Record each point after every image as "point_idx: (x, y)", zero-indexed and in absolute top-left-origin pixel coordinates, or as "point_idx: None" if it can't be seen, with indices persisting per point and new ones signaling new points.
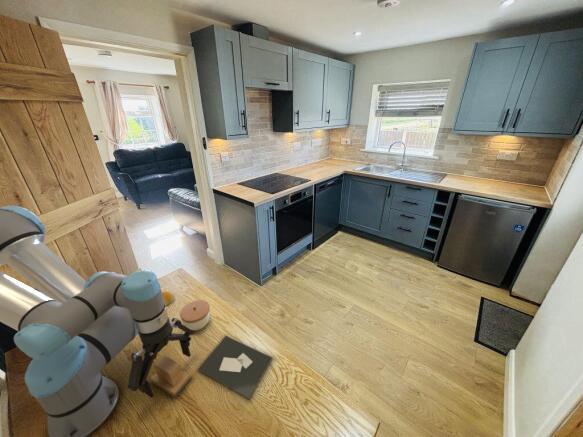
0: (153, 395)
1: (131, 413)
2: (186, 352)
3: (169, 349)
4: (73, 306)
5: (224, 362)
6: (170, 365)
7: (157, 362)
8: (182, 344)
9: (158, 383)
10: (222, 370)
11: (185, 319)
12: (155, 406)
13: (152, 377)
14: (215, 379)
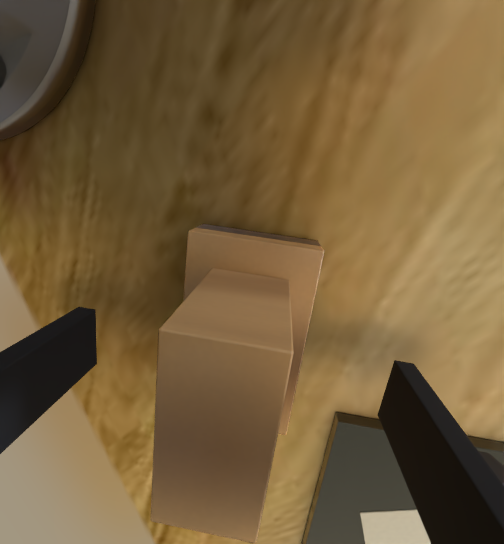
0: (89, 367)
1: (58, 237)
2: (398, 441)
3: (435, 145)
4: None
5: (405, 521)
6: (212, 488)
7: (189, 358)
8: (460, 521)
9: (184, 299)
10: (362, 526)
11: None
12: (128, 322)
13: (195, 237)
14: (313, 510)
